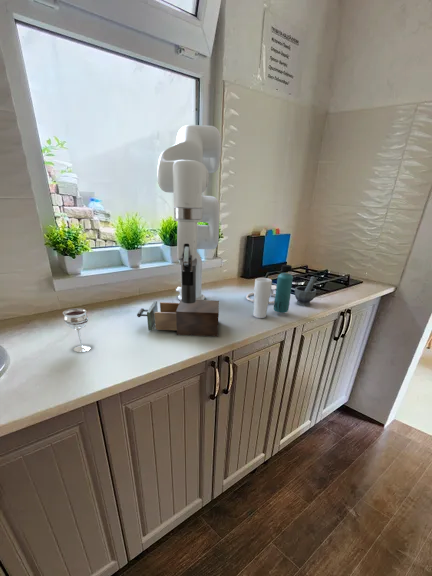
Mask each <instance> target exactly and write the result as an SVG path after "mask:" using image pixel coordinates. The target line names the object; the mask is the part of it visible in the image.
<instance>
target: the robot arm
mask: <svg viewBox="0 0 432 576" xmlns="http://www.w3.org/2000/svg"><path fill="white" fill-rule="evenodd" d="M221 154H222V136H221V132H220V130H219V129H218V128H217V127H216V126H214V125H203V124H202V125H200V124H186V125H183V126H181V128H179V130H178V132H177V135H176V139H175V144H173V145H170V146H169V147H167V148H165V149H164V150H163V151H162V152H161V153H160V155H159V157H158V162H157V169H156V179H157V180H156V181H157V184H158V186H159V188H160V190H161V191H163V192H165V193H169V194H170V193H171V194H172V193H173V217H174V218H173V220H174V222H177V230H176V231H177V232H176V233H177V234H176V236H177V237H176V239H177V242H176V245H177V246H176V248H177V249H176V258H177V260H178V261H180V259H181V258H183V271H182V284H183V285H189V286H192V285H193V271H192V262H193V260H194V259H195V258H196V259H197V265H196V300H206V296H205V295H204V294H202V292H203V291H202V289H203V284H202V282H203V261H202V258H201V257H202V256H201V255H200V253H199V252H198V250H215V249H217V247H218V246H219V238H220V214H221V212H220V211H221V210H220V209H221V208H220V203H219V200H218V198H217V197H215V196H213V195H203V193H205V191H206V190H207V188H208V187H209V182H210V174H213V173H216V172H217V171H218V170H219V167H220V162H221ZM198 223H207V224H198ZM189 258H191V260H189ZM189 262H190V263H189ZM175 292H177V293H179V294H178V296H177V299H178V300H179V301H180V300H181V299H182V289H181V286H177V288H175Z"/></svg>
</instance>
